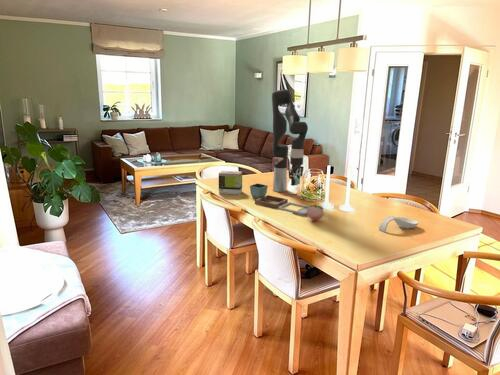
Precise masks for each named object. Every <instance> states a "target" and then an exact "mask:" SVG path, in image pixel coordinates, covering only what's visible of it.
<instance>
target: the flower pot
mask: <svg viewBox="0 0 500 375" xmlns="http://www.w3.org/2000/svg"><path fill="white" fill-rule="evenodd" d="M249 189H250V195H251V197H252V198H253V199H256V200H257V199H259V198H262V197H265V196H267V192H268V184H263V183H259V182H258V183H254V184H251V185H249Z"/></svg>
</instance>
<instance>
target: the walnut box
mask: <svg viewBox="0 0 500 375" xmlns="http://www.w3.org/2000/svg"><path fill="white" fill-rule="evenodd" d="M288 201H289V199H287V198H282V197H279V196H273V195H269V194H268V195H267V194H266V195H265V197H262V198H259V199H257V198H256V199H254V204H255V205H257V206H263V207H266V208H271V209H278V207H279V206H282V205H284V204H286V203H288Z"/></svg>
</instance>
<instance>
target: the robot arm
mask: <svg viewBox="0 0 500 375" xmlns="http://www.w3.org/2000/svg"><path fill="white" fill-rule="evenodd" d="M271 94H272V95H271V102H272V133H273V134H272V135H273V136H272V138H273V139H272V140H273V141H272V156H273V157H274V158H276V159H277V158H279V159H282V160H279V161H275V162H274V164H273V185H272V190H273V191H274V192H277V193H283V192H286V190H287V186H288V184H287V182H288V179H290V180H291V181H290V186H291V187H292V186H293V187H295V186H296V185H295V177H297V178H299V180H300V179H301V178H302V177H303V173H304V166H302V165H304V153H305V152H304V147H305V146H304V144H305V138H306V135H307V133H308V130H309V127H308V124H307V122H305V121H301V119H300V118H301V117H300V115H299V114H298V112H297V110H296V107H295V105H294V102H293V98H292V96H291V93H290V91H289V90H288V89H280V90H279V89H278V90H274V91H273V92H272V93H271ZM284 105H287V106H286V108H285V109H284V110H285V112H284V115H285V116H284V115H283V114H282V112H281V111H280V108H279V106H284ZM287 121H288V122H287ZM287 123H288V124H287ZM287 126H288V127H287ZM287 128H288V129H289V133H290V134H291V135H298V136H297V137H294V138H292V139H291V144H290V145H291V146H290V148H291V149H290V156H289V146H288V145H287V144H279V142H280V141H281V139H282V138H283V137H284V136H285V134H286V132H287V130H288V129H287ZM288 156H289V157H290V159H289V164H290V165H291V167H290V168H289V169H288ZM287 173H288V177H287ZM300 181H301V180H300ZM300 183H301V182H299V184H298V185H300Z"/></svg>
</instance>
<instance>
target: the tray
mask: <svg viewBox="0 0 500 375" xmlns="http://www.w3.org/2000/svg"><path fill="white" fill-rule="evenodd" d="M289 205H292V206H296V207H299V208H300V207H301V208H300V209H298V210H294V209H291V208H285V207H287V206H289ZM308 206H309V205H304V204H300V203H295V202H291V201H289V202H288V203H286V204H284V205H282V206H279V207H278V208H277V210H281V211H285V212H290V213H291V214H293V215H296V216H301V217H306V216H308V215H307V209H308V208H309V207H308Z"/></svg>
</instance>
